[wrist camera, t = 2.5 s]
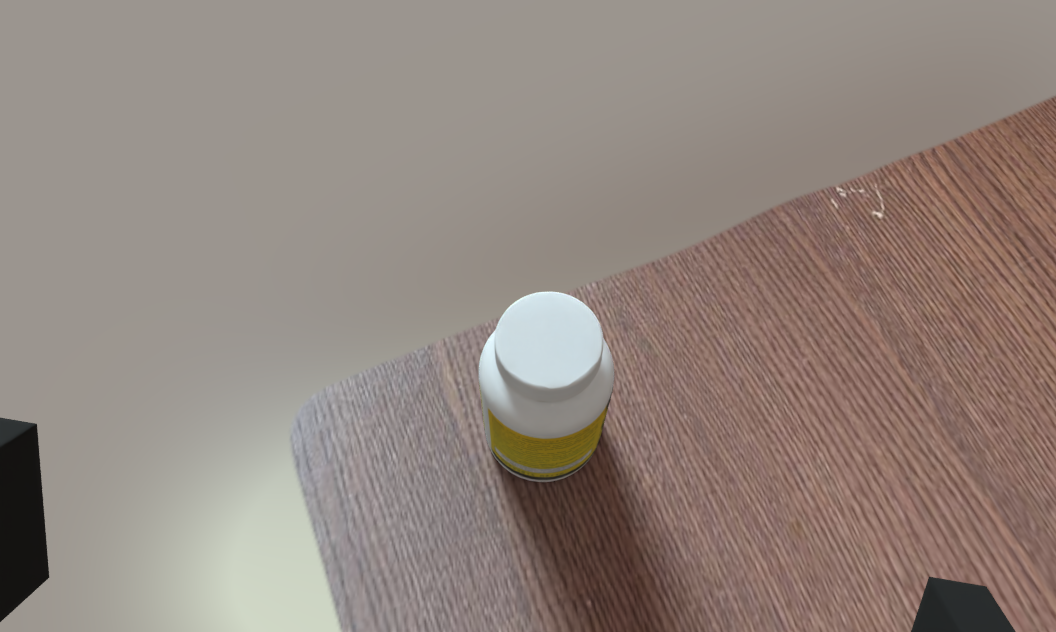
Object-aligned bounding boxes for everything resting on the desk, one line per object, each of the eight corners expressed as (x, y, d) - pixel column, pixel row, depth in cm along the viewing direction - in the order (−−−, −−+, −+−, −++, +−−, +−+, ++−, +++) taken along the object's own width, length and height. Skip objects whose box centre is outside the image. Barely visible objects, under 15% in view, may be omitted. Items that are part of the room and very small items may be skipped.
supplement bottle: (618, 463, 38) (645, 384, 29) (505, 500, 37) (498, 430, 28) (578, 360, 40) (592, 258, 31) (471, 392, 40) (455, 297, 31)
